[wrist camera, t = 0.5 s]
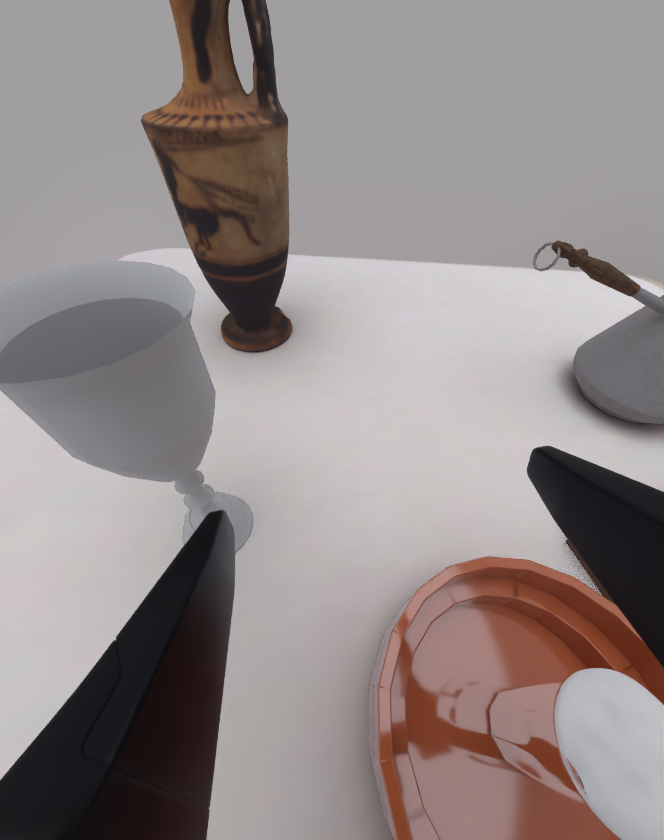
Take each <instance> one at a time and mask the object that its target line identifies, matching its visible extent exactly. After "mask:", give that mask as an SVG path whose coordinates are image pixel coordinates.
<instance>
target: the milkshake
mask: <svg viewBox="0 0 664 840" xmlns="http://www.w3.org/2000/svg"><path fill="white" fill-rule="evenodd" d="M489 716H490V727H491V736H492V737H493V739H494V741H495V743H496V744H497V746H498V748H499V750H500V752H501V753H502V755H503V757H504V759H505V760H506V761H507V762H508V763H510V764H511V765H513V766H514V767H516V768H517V769H519V770H520V771H522V772H523V773H525V774H526V775H528V776H529V777H531V778H532V779H534V780H536V781H537V782H539V783H540V784H542V785H544V786H545V787H547V788H548V789H550V790H552V791H553V792H555V793H556V794H558V795H560V796H561V797H563V798H564V799H565V800H567V801H568V802H569V803H571V804H572V805H573V806H574V807H576V808H577V809H578V810H580V811H581V812H583V813H584V814H585V815H587V816H588V817H589V818H591V819H592V820H594V821H595V822H597V823H598V824H599V825H601V826H602V827H604V828H605V829H606V830H608V831H609V832H611V833H612V834H613V835H615V836H616V837H618V838H619V839H621V840H664V705H663V704H662V703H661V702H660V701H659V700H658V699H657V698H656V697H655V696H654V695H652V694H651V693H650V692H649V691H648V690H647V689H646V688H644V687H643V686H642V685H641V684H639V683H638V682H637V681H635V680H633V679H632V678H630V677H628V676H626V675H624V674H622V673H620V672H617V671H614V670H610V669H604V668H590V669H584V670H580V671H577V672H574V673H571V674H567V675H564V676H561V677H558V678H555V679H552V680H549V681H546V682H543V683H540V684H536V685H532V686H528V687H523V688H518V689H514V690H509V691H504V692H499V693H498V694H497V696H496V698H495V700H494V702H493V703H492V705H491V707H490V709H489Z"/></svg>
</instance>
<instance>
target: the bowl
mask: <svg viewBox="0 0 664 840" xmlns="http://www.w3.org/2000/svg"><path fill="white" fill-rule="evenodd" d="M590 668H604V669H610V670H614V671H617V672H620V673H622V674H624V675H626V676H628V677H630V678H632V679H633V680H635V681H637V682H638V683H639V684H641V685H642V686H643V687H644V688H646V689H647V690H648V691H649V692H650V693H651V694H652V695H654V696H655V697H656V698H657V699H658V700H659V701H660V702H661V703H662V704H663V705H664V669H663V668H662V666H661V665H660V664H659V662H658V661H657V660H656V658H655V657H654V655H653V654H652V653H651V651H650V650H649V649H648V647H647V646H646V645H645V643H644V642H643V640H642V639H641V638H640V636H639V635H638V634H637V632H636V631H635V630H634V628H633V627H632V626H631V624H630V623H629V621H628V620H627V619H626V617H625V616H624V615H623V613H622V612H621V611H620V609H619V608H618V606H617V605H615V604H614V603H612V602H611V601H609V600H608V599H606V598H605V597H603V596H602V595H600V594H599V593H597V592H596V591H594V590H593V589H591V588H590V587H588V586H587V585H585V584H584V583H582V582H581V581H579V580H578V579H576V578H574V577H572V576H570V575H567V574H564V573H562V572H559V571H556V570H554V569H551V568H549V567H546V566H543V565H541V564H538V563H536V562H533V561H530V560H524V559H512V558H501V557H489V556H487V557H482V558H478V559H475V560H471V561H467V562H463V563H459V564H455V565H452V566H449V567H447V568H446V569H445V570H443V571H442V572H441V573H439V574H438V575H436V576H435V577H434V578H432V579H431V580H430V581H428V582H427V583H426V584H424V585H423V586H422V587H420V588H419V589H418V590H417V591H416V592H415V593H414V594H413V595H412V596H411V597H410V598H409V599H408V601H407V602H406V603H405V604H404V605H403V606H402V608H401V609H400V611H399V612H398V614H397V615H396V617H395V619H394V620H393V622H392V623H391V625H390V627H389V628H388V630H387V631H386V633H385V634H384V636H383V638H382V640H381V643H380V647H379V651H378V655H377V658H376V662H375V666H374V670H373V673H372V677H371V681H370V685H369V686H370V687H369V751H370V755H371V760H372V764H373V769H374V774H375V778H376V783H377V787H378V792H379V796H380V801H381V805H382V810H383V815H384V817H385V821H386V823H387V825H388V827H389V829H390V832H391V834H392V836H393V838H394V840H621V839H619V838H618V837H616V836H615V835H613V834H612V833H611V832H609V831H608V830H606V829H605V828H604V827H602V826H601V825H599V824H598V823H597V822H595V821H594V820H592V819H591V818H589V817H588V816H587V815H585V814H584V813H583V812H581V811H580V810H578V809H577V808H576V807H574V806H573V805H572V804H571V803H569V802H568V801H567V800H565V799H564V798H563V797H561V796H560V795H558V794H556V793H555V792H553V791H552V790H550V789H548V788H547V787H545V786H544V785H542V784H540V783H539V782H537V781H536V780H534V779H532V778H531V777H529V776H528V775H526V774H525V773H523V772H522V771H520V770H519V769H517V768H516V767H514V766H513V765H511V764H510V763H508V762H507V761H506V760H505V759H504V757H503V755H502V753H501V752H500V750H499V748H498V746H497V744H496V743H495V741H494V739H493V737H492V736H491V727H490V716H489V709H490V707H491V705H492V703H493V702H494V700H495V698H496V696H497V694H498V693H499V692H504V691H509V690H514V689H518V688H523V687H528V686H532V685H536V684H540V683H543V682H546V681H549V680H552V679H555V678H558V677H561V676H564V675H567V674H571V673H574V672H577V671H580V670H584V669H590Z"/></svg>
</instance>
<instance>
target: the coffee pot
mask: <svg viewBox="0 0 664 840" xmlns="http://www.w3.org/2000/svg"><path fill="white" fill-rule="evenodd" d="M548 245H552V249H553V250H554V251H555V253H556V254H557V257H556V258H555V260H554V262H553V263H552V264H550V265H549V266H548V267H546V268H542V269H539V268H537V266H536V258H537V256H538V254H539V253H540V251H541V250H542V249H544V248H545V247H546V246H548ZM560 257H561V258H567V259H568V260H569V266H570V267H578V266H579V267H580V268H581V269H582V270H583V271H584V272H585V273H586V274H587V275H588V276H589V277H590V278H591V279H593V280H595V281H597V282H600V283H602V284H604V285H606V286H608V287H610V288H613V289H615V290H617V291H619V292H621V293H623V294H626V295H628V296H631V297H633V298H635V299H636V300H638V301H639V302H641V303H642V304H644V305H646V306H645V307H643V308H641V309H640V310H638V311H636V312H635V313H633V314H631V315H630V316H628V317H626V318H625V319H623V320H621V321H620V322H618V323H616V324H615V325H613V326H611V327H610V328H608V329H606V330H605V331H603V332H601V333H600V334H598V335H596V336H595V337H593V338H591V339H590V340H588V341H586V342H585V343H584V344H583V345H581V346H580V347H579V348H578V350H577V352H576V355H575V357H574V364H573V366H574V374H575V376H576V379H577V381H578V383H579V385H580V389H581V390H582V392H583V394H584V395H585V397H586V398H587V399H588V400H589V401H590V402H591V403H592V404H594V405H595V406H596V407H597V408H599V409H601V410H602V411H604V412H606V413H608V414H609V415H612V416H614V417H617V418H619V419H622V420H626V421H630V422H636V423H653V424H664V295H663V296H661V297H660V298H659V297H658V296H656V295H654V294H652V293H650V292H648V291H646V290H645V289H643V288H641V287H640V286H639V285H638V284H637V283H635V282H634V281H633V280H631V279H630V278H629V277H627V276H626V275H625V274H623V273H622V272H620V271H619V270H618V269H616V268H615V267H614V266H612V265H611V264H609V263H608V262H605V261H601V260H598V259H595V258H592V257H589V256H588V251H587V250H585V249H579V250H576V249H574V248H573V246H572V245H571V244H568V243H565V242H560V241H556V242H554V243H552V242H551V243H546V244H544V245H543V246H542V247H541V248H540V249H539V250H538V251H537V253H536V254H535V256H534V260H533V265H534V269H536V270H539V271H545V270H548V269H549V268H551V267H552V266H553V265H555V263H556V262H557V260H558V259H559V258H560Z"/></svg>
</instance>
